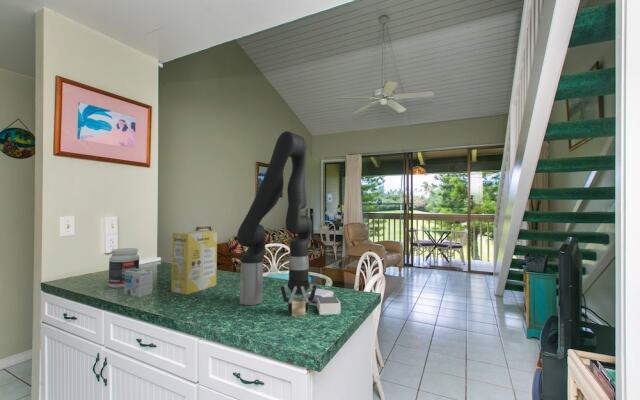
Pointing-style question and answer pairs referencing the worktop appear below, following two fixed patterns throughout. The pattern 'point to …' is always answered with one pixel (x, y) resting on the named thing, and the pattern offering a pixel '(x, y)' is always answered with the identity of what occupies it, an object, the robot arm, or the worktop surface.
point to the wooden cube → (298, 307)
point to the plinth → (328, 305)
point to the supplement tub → (122, 265)
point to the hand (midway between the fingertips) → (298, 311)
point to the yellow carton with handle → (193, 261)
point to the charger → (319, 295)
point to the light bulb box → (138, 282)
